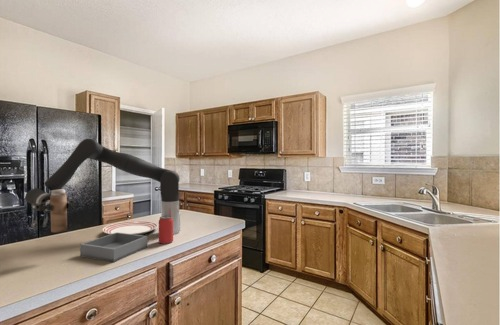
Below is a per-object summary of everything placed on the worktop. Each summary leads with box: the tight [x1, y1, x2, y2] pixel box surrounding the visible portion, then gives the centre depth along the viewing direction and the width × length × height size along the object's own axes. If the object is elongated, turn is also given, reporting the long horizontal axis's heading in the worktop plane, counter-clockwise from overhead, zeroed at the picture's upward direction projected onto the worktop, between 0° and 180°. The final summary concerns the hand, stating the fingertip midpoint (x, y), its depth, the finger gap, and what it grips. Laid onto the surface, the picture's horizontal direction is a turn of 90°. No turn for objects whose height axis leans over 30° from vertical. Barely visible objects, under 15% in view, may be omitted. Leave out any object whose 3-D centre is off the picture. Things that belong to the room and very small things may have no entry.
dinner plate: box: [101, 220, 159, 236], centre depth 141 cm, size 27×27×3 cm
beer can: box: [158, 216, 174, 245], centre depth 124 cm, size 7×7×12 cm
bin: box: [79, 232, 149, 263], centre depth 111 cm, size 18×18×5 cm
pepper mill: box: [50, 188, 68, 233], centre depth 102 cm, size 5×5×16 cm
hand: (60, 206), depth 100 cm, fingers closed on pepper mill, 5 cm apart
